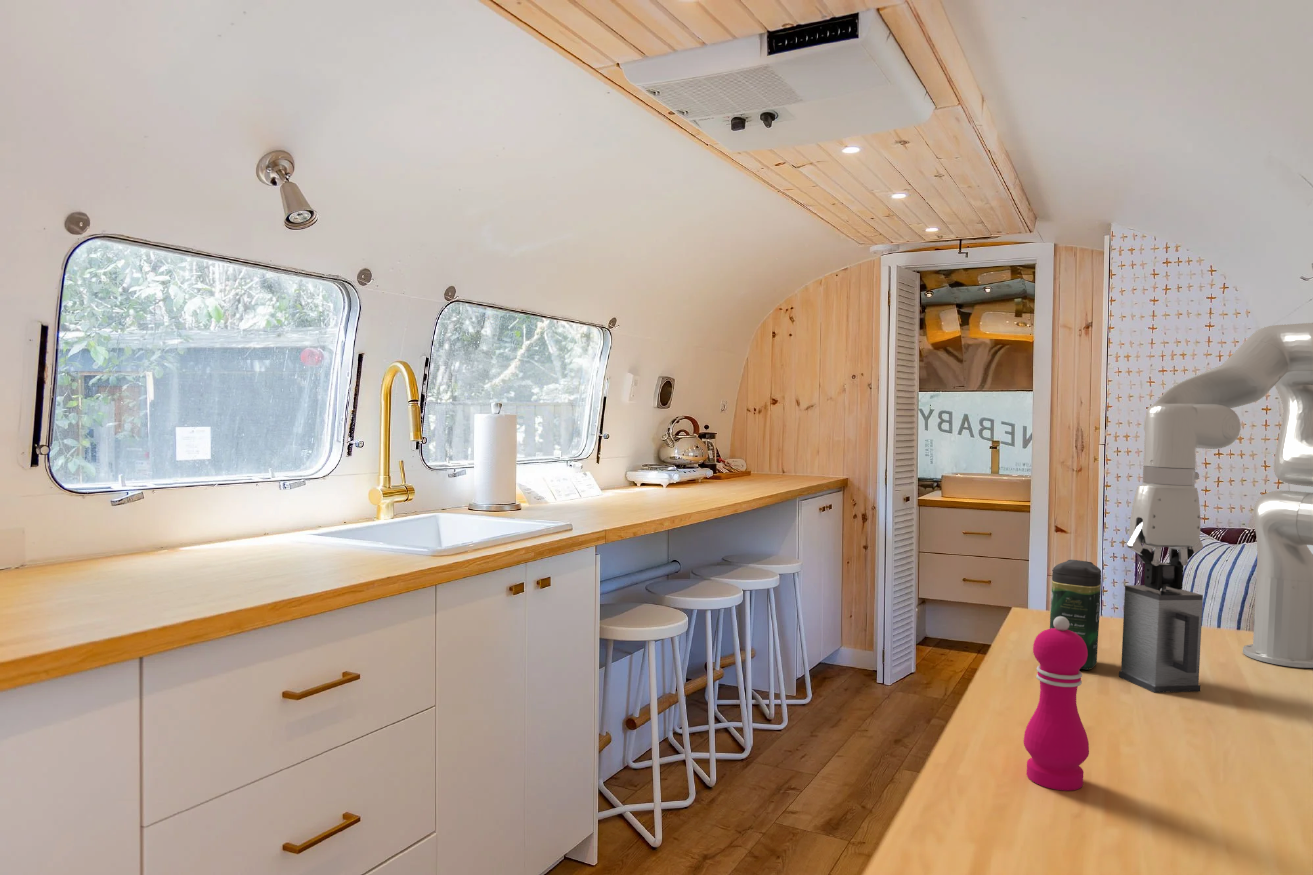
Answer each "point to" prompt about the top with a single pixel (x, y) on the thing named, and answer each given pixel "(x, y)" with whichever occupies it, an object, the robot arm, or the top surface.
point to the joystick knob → (1167, 575)
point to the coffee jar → (1078, 602)
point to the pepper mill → (1057, 711)
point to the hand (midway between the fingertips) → (1163, 586)
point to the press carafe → (1161, 639)
